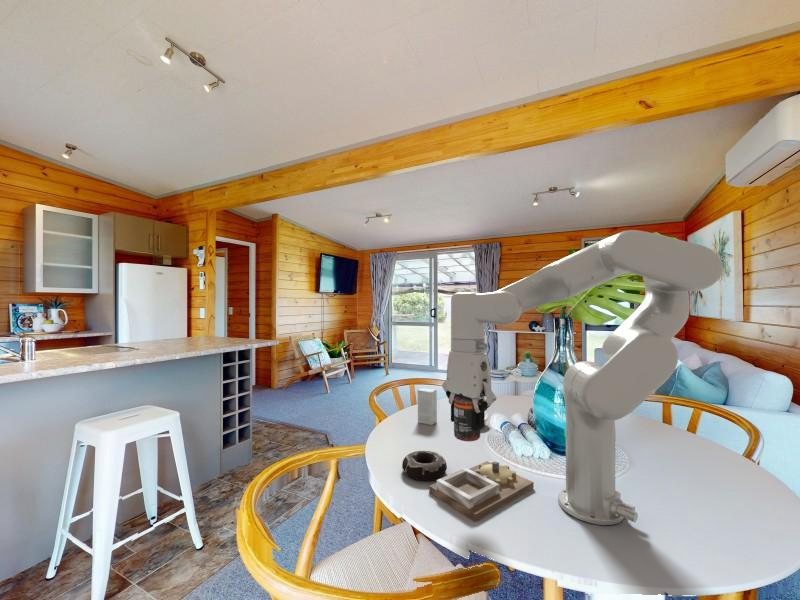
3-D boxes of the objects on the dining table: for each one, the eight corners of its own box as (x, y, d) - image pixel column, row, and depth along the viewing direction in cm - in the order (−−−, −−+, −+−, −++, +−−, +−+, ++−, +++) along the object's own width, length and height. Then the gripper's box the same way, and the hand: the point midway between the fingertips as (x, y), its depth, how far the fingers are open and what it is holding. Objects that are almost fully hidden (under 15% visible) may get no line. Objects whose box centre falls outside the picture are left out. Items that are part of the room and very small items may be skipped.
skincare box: (437, 422, 132) (437, 389, 132) (431, 425, 128) (431, 392, 128) (422, 419, 135) (422, 387, 135) (417, 422, 131) (417, 390, 131)
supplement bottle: (478, 433, 84) (479, 385, 84) (481, 443, 78) (482, 391, 78) (453, 431, 85) (453, 384, 85) (454, 442, 79) (454, 391, 79)
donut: (400, 463, 99) (400, 449, 99) (442, 461, 100) (442, 447, 100) (404, 485, 88) (404, 468, 88) (451, 483, 88) (451, 467, 88)
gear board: (533, 488, 86) (533, 467, 86) (475, 521, 73) (475, 497, 73) (486, 466, 97) (486, 448, 97) (429, 492, 84) (429, 471, 84)
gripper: (509, 348, 77) (509, 432, 77) (451, 341, 91) (451, 411, 91) (486, 352, 72) (486, 440, 73) (429, 343, 86) (429, 417, 86)
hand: (467, 423), depth 82 cm, fingers closed on supplement bottle, 6 cm apart
